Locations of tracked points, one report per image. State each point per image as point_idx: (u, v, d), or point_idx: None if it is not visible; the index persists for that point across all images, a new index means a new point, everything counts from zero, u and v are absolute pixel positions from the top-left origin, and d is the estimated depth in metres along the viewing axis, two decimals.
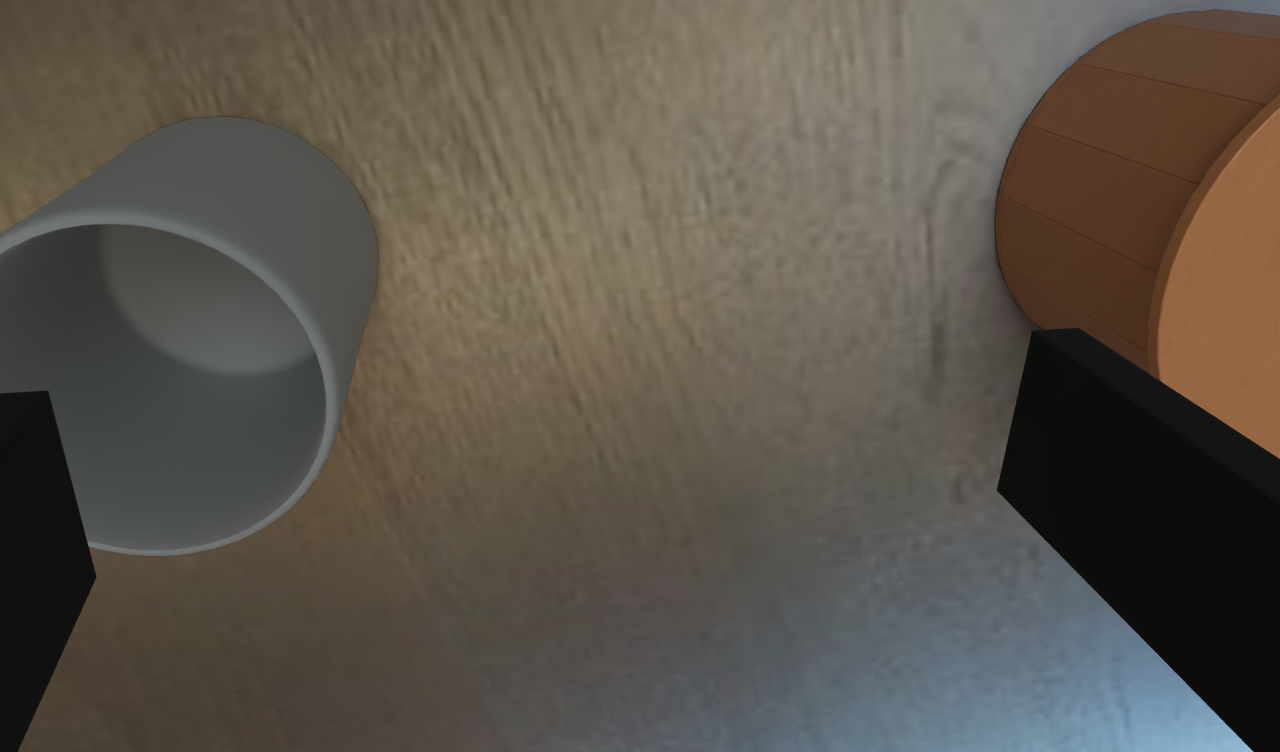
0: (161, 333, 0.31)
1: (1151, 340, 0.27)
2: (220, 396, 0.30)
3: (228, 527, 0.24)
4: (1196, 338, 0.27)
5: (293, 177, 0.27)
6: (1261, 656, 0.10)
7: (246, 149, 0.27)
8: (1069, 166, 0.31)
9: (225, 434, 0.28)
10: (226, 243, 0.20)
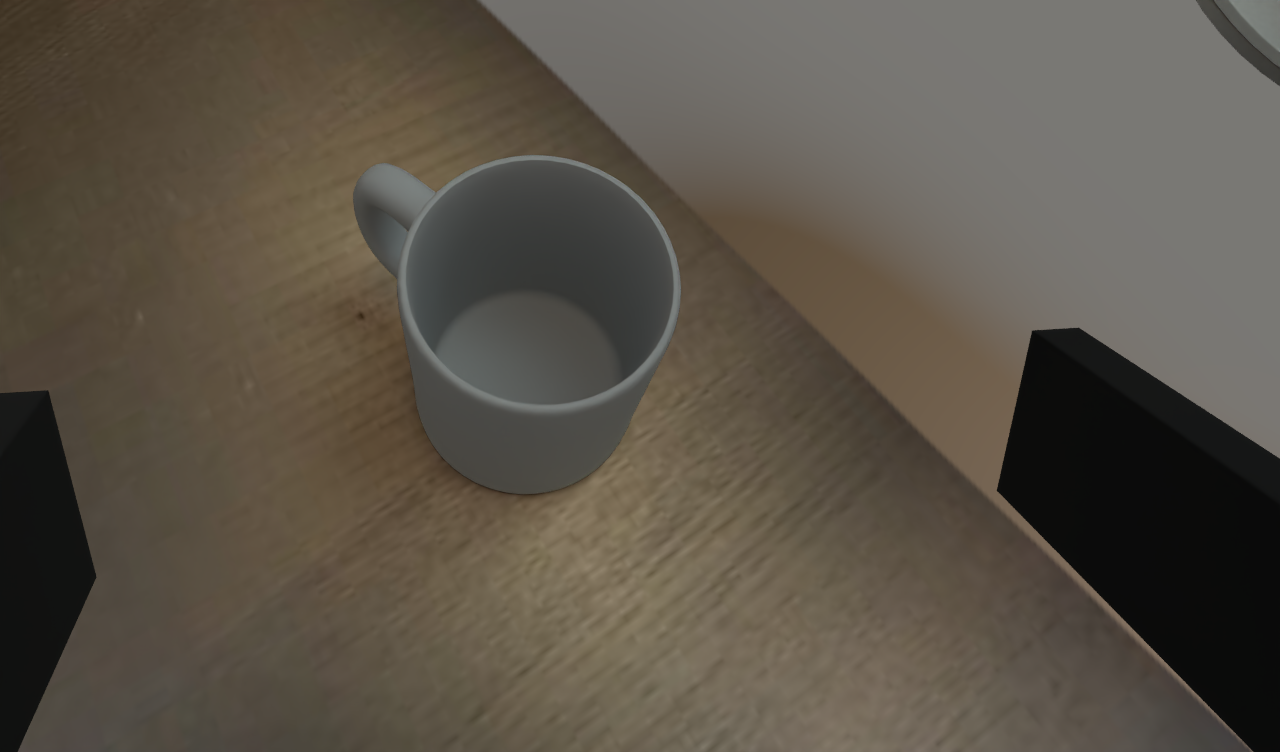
0: (450, 343, 0.38)
1: None
2: None
3: (438, 359, 0.28)
4: None
5: None
6: (1261, 656, 0.10)
7: None
8: None
9: None
10: (677, 308, 0.29)
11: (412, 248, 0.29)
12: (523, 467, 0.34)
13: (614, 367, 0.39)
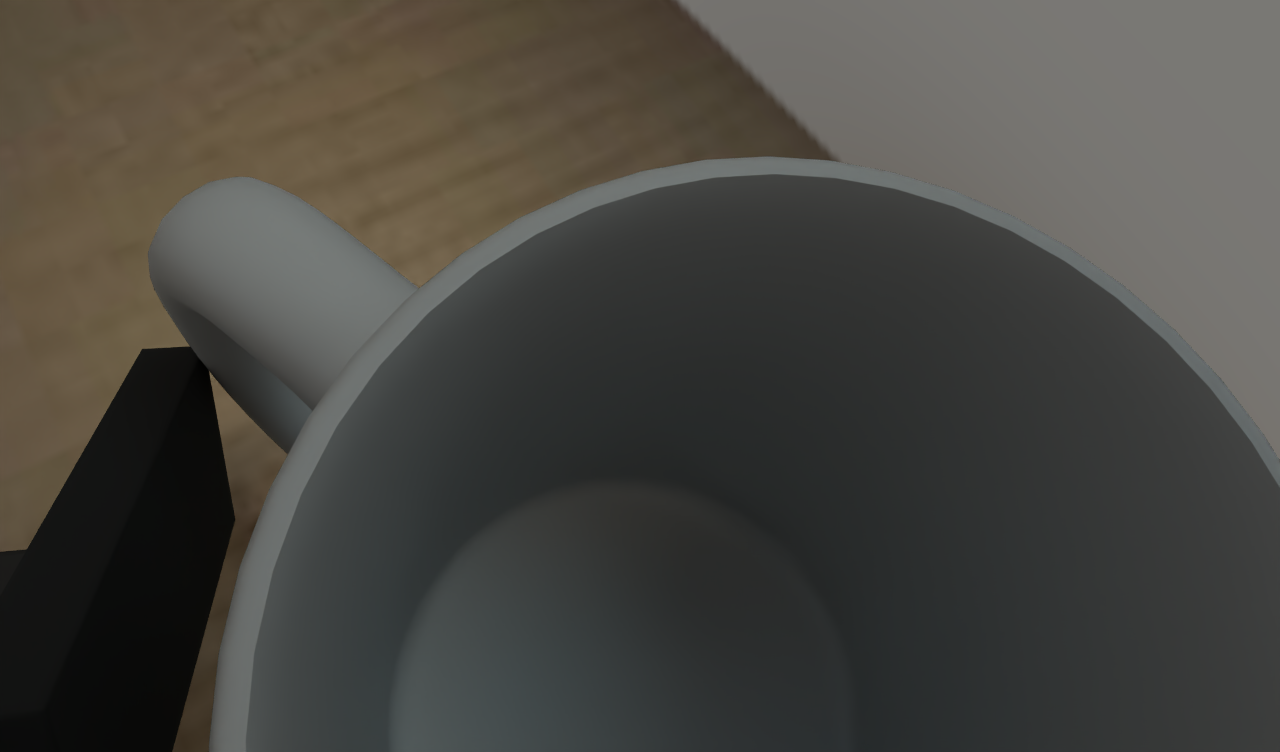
0: (444, 616, 0.16)
1: None
2: None
3: None
4: None
5: None
6: None
7: None
8: None
9: None
10: None
11: (291, 553, 0.07)
12: None
13: (828, 666, 0.16)
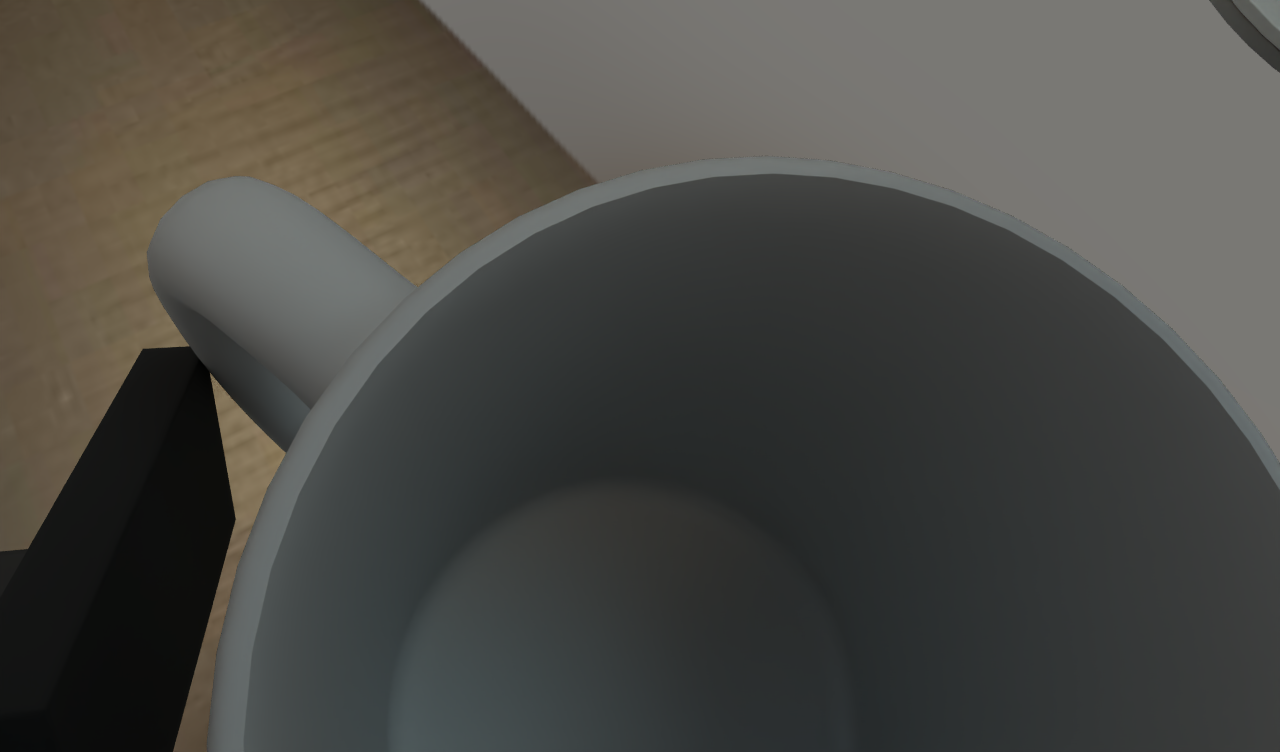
0: (443, 616, 0.16)
1: None
2: None
3: None
4: None
5: None
6: None
7: None
8: None
9: None
10: None
11: (289, 553, 0.07)
12: None
13: (828, 665, 0.16)
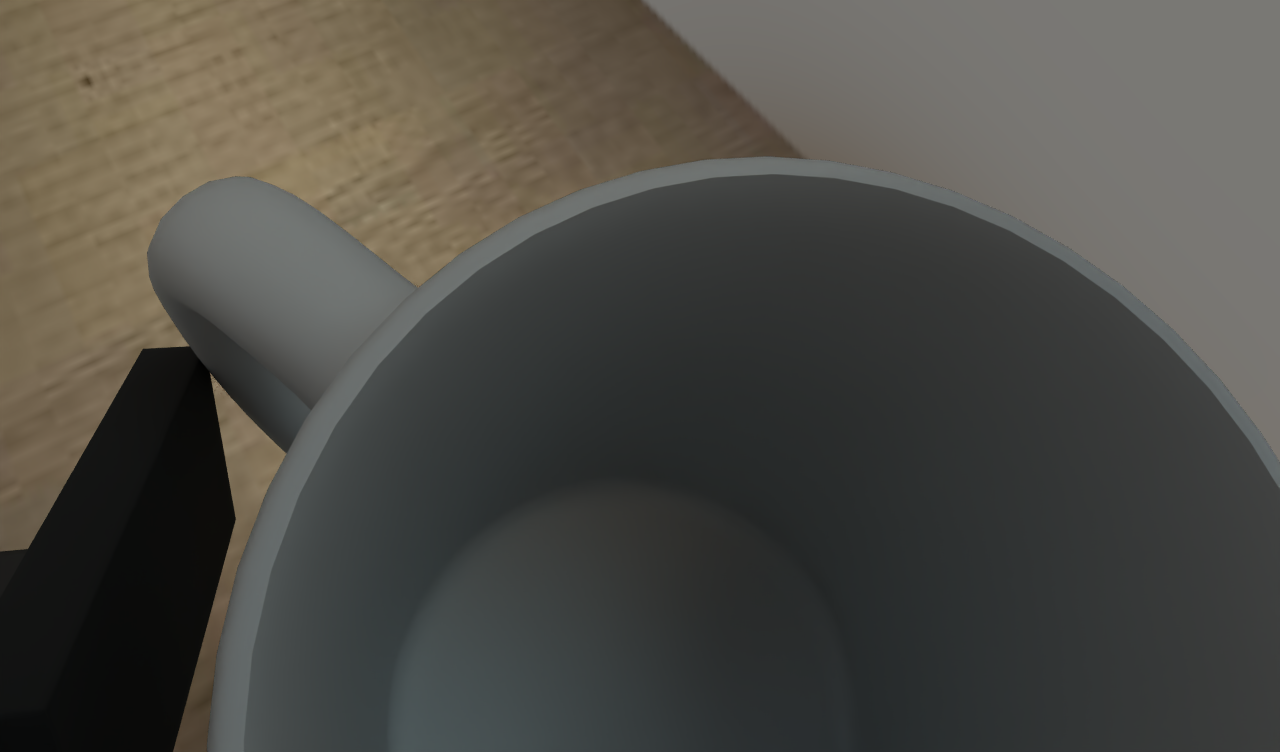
0: (443, 616, 0.16)
1: None
2: None
3: None
4: None
5: None
6: None
7: None
8: None
9: None
10: None
11: (289, 553, 0.07)
12: None
13: (828, 666, 0.16)
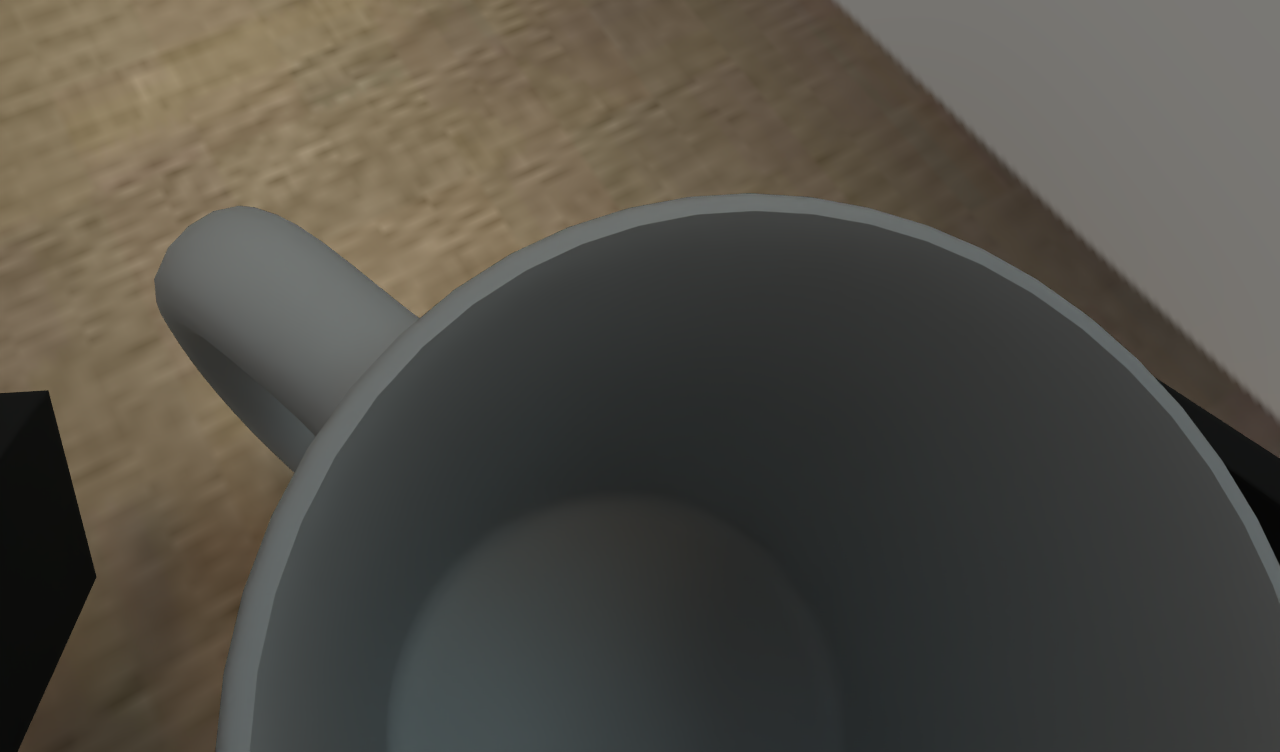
0: (441, 624, 0.16)
1: None
2: None
3: None
4: None
5: None
6: None
7: None
8: None
9: None
10: None
11: (292, 577, 0.07)
12: None
13: (817, 673, 0.17)
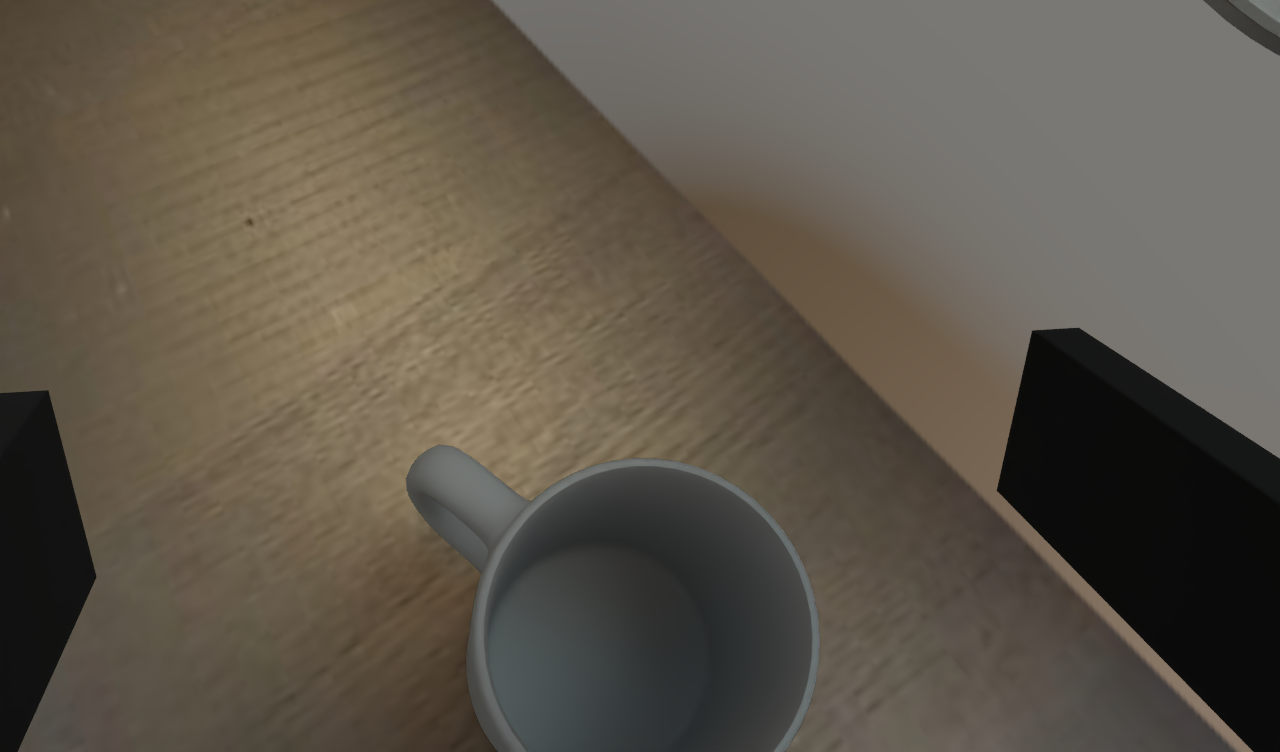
0: (508, 610, 0.32)
1: None
2: None
3: (523, 744, 0.22)
4: None
5: None
6: (1261, 656, 0.10)
7: None
8: None
9: None
10: None
11: (490, 591, 0.23)
12: None
13: (699, 636, 0.33)
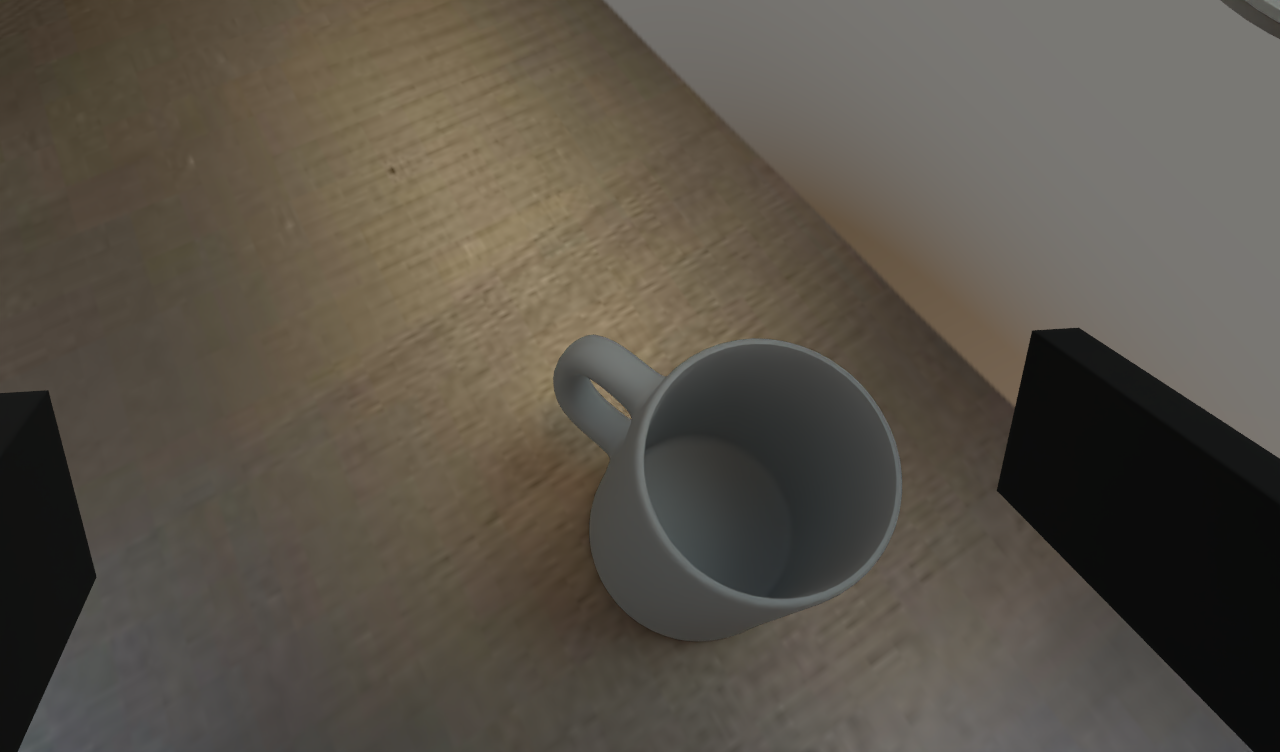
0: None
1: None
2: None
3: None
4: None
5: None
6: (1261, 656, 0.10)
7: None
8: None
9: None
10: None
11: (646, 436, 0.29)
12: (718, 630, 0.34)
13: (782, 513, 0.39)
